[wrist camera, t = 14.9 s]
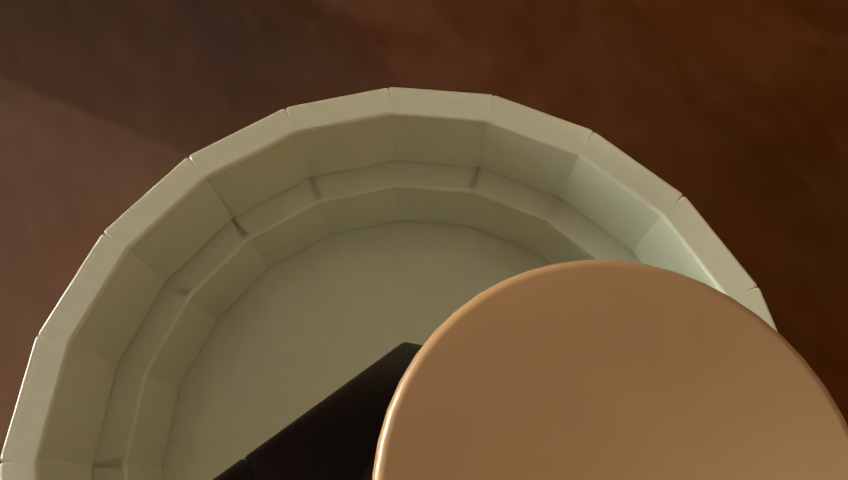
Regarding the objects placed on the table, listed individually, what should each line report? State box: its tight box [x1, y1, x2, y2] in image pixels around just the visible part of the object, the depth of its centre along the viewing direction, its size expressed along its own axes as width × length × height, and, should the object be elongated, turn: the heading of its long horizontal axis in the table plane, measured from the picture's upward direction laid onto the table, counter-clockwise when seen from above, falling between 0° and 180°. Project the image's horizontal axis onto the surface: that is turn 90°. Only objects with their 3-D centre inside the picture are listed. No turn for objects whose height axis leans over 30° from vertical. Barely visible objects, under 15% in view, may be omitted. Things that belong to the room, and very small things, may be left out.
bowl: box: [0, 87, 778, 480], centre depth 15 cm, size 14×14×5 cm
